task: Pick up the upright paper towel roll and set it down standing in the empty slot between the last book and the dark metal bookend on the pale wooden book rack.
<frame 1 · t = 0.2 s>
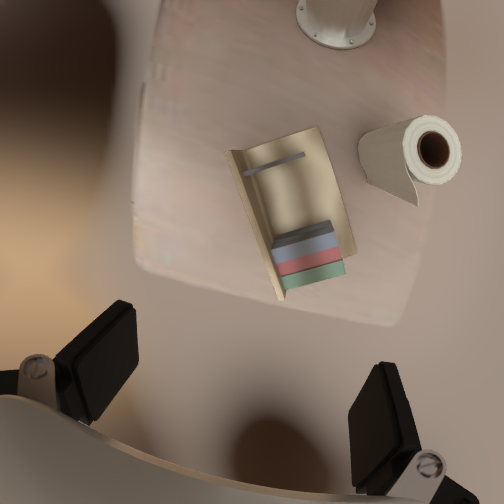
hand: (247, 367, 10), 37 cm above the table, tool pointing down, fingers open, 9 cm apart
paper towel roll: (372, 152, 40), on the table
book rack: (301, 201, 44), on the table
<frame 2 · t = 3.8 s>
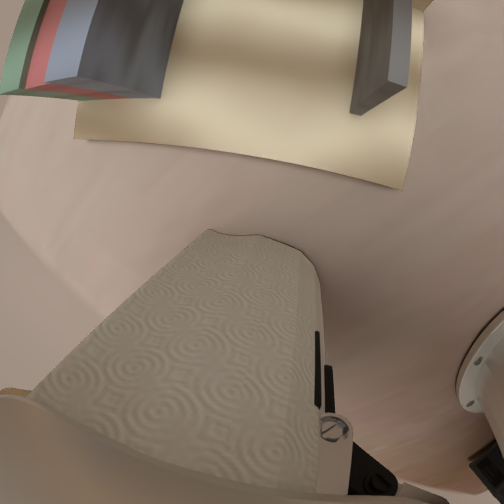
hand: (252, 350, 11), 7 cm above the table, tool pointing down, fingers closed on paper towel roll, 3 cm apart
paper towel roll: (269, 276, 18), on the table, touching gripper
book rack: (239, 53, 14), on the table
when the fingers open (11 cm above the table, at t = 9.9 s): paper towel roll drops 2 cm, resting on book rack.
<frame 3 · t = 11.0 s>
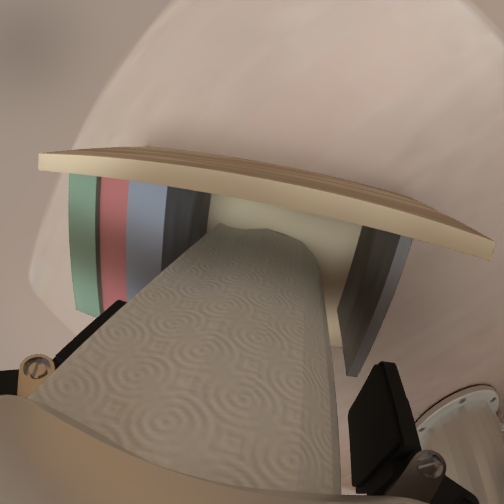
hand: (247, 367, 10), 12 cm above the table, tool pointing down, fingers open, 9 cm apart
paper towel roll: (274, 266, 20), point 1 cm above the table, touching book rack
book rack: (259, 247, 21), on the table
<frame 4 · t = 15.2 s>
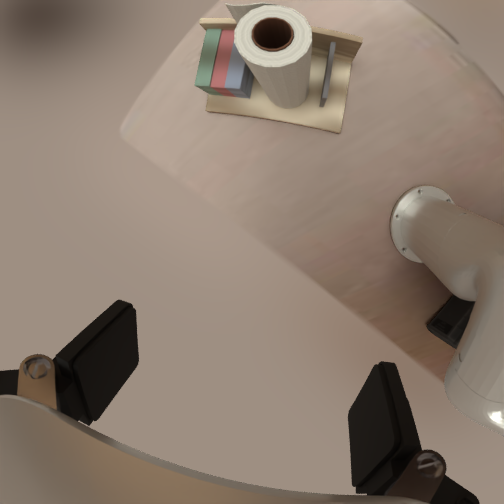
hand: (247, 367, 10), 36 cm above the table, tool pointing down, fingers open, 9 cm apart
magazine: (481, 268, 42), on the table
paper towel roll: (286, 86, 37), point 1 cm above the table, touching book rack
book rack: (279, 83, 38), on the table
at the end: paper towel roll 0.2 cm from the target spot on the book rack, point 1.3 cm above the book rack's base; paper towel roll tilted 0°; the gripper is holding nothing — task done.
